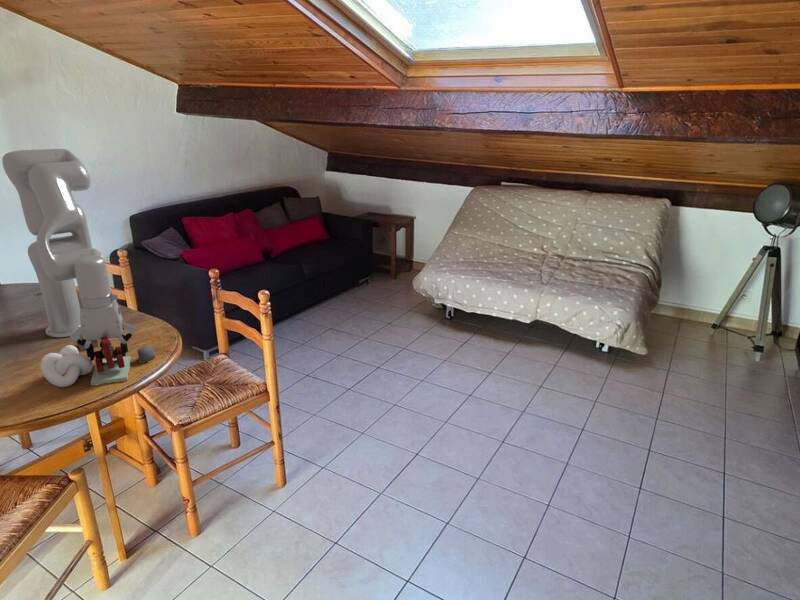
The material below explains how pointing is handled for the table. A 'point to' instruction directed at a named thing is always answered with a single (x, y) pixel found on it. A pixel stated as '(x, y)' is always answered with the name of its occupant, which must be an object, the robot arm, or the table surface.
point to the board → (112, 373)
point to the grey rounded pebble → (146, 354)
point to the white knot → (65, 366)
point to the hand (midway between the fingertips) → (108, 356)
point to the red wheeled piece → (108, 355)
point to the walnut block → (93, 342)
